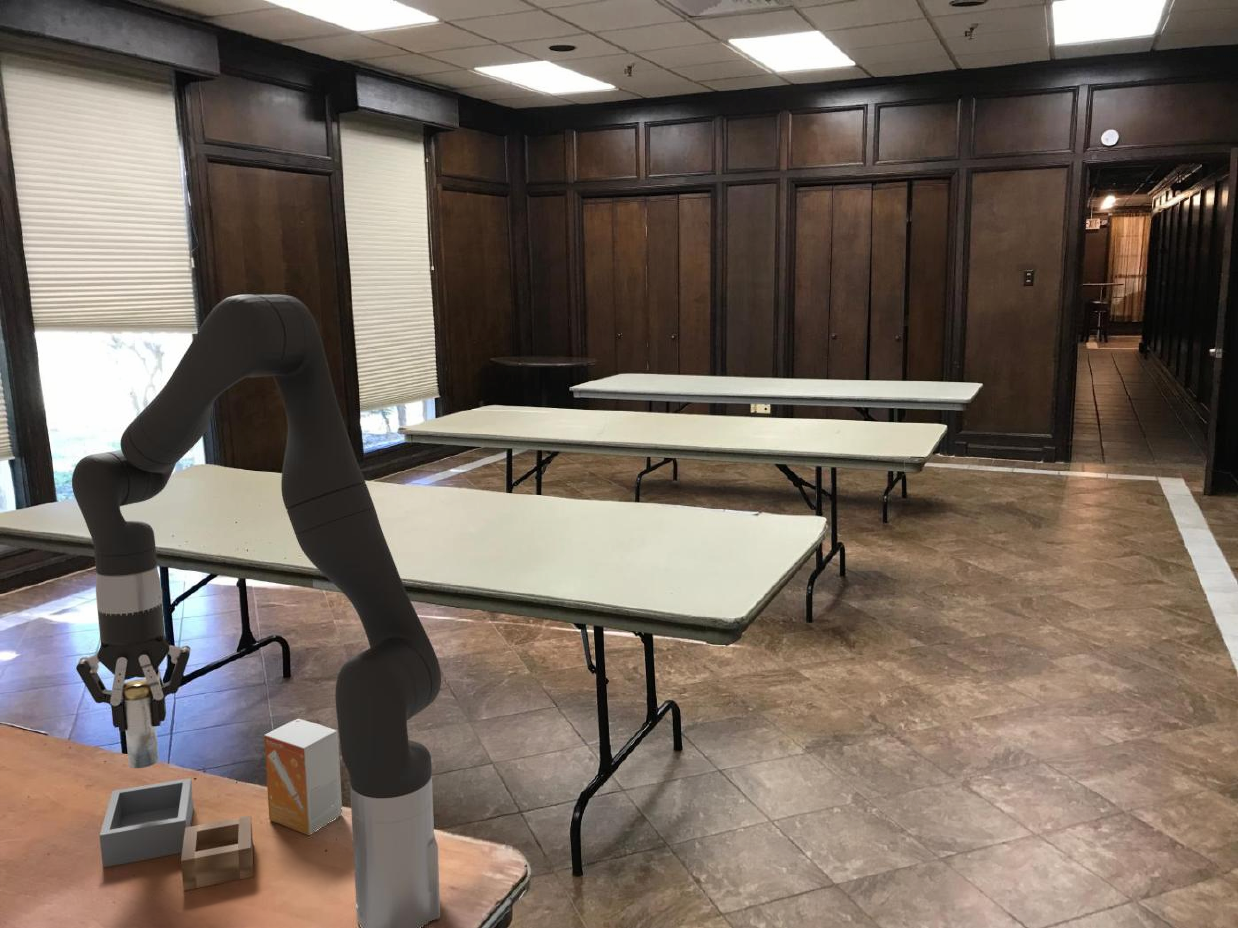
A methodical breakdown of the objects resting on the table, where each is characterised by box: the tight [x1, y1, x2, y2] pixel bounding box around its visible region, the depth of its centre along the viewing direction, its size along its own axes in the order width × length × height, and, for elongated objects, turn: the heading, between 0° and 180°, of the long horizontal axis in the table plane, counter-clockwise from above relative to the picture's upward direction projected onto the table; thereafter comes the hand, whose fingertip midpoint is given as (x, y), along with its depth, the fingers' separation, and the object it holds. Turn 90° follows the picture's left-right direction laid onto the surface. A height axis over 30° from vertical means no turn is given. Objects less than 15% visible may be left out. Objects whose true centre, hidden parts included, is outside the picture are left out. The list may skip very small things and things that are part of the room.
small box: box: [263, 718, 343, 836], centre depth 131 cm, size 8×6×13 cm
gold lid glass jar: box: [122, 678, 160, 769], centre depth 125 cm, size 4×4×11 cm
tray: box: [99, 777, 194, 869], centre depth 128 cm, size 10×12×4 cm
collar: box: [180, 815, 254, 891], centre depth 121 cm, size 8×8×4 cm
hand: (140, 725), depth 125 cm, fingers closed on gold lid glass jar, 3 cm apart
